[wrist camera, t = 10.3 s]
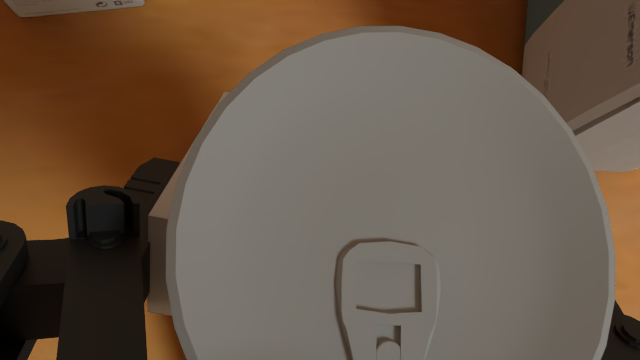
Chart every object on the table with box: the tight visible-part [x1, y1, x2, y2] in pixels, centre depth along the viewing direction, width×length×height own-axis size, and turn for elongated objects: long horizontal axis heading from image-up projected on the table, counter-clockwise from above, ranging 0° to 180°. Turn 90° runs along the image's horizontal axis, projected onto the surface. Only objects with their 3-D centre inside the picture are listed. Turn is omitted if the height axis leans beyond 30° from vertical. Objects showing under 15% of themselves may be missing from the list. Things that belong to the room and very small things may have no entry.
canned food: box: [166, 26, 615, 360], centre depth 14 cm, size 8×8×11 cm
